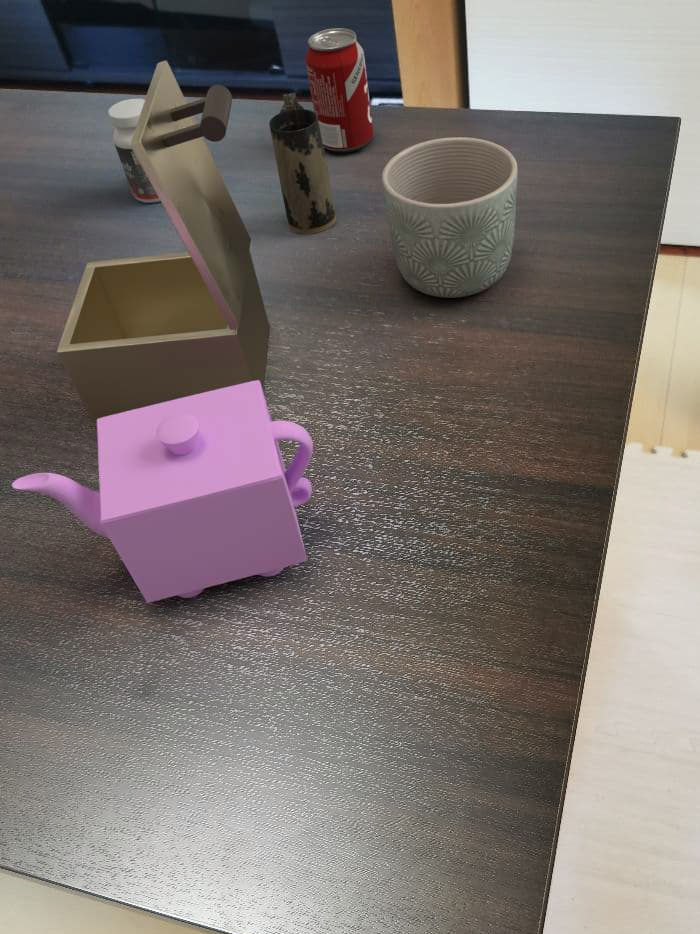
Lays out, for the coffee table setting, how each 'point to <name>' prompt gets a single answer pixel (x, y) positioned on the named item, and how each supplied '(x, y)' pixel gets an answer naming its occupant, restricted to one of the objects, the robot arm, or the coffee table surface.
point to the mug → (302, 168)
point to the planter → (451, 214)
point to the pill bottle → (125, 122)
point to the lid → (195, 184)
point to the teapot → (193, 491)
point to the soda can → (339, 89)
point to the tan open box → (157, 335)
